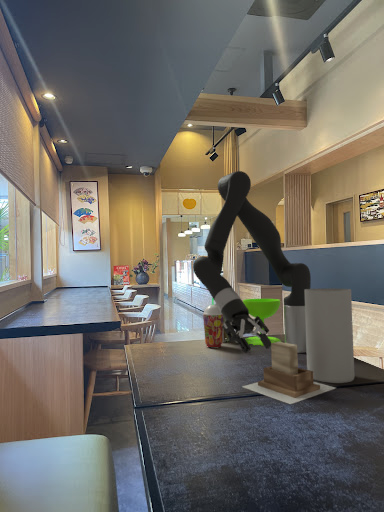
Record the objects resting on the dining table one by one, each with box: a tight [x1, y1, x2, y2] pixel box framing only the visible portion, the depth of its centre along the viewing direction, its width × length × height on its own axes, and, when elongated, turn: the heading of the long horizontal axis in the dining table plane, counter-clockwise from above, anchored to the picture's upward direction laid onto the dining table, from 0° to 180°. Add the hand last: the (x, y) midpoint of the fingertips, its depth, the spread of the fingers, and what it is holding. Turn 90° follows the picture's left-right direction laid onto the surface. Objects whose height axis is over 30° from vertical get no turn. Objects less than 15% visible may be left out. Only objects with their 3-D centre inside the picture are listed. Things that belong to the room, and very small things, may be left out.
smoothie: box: [202, 297, 223, 348], centre depth 147 cm, size 8×8×20 cm
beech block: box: [270, 341, 299, 375], centre depth 94 cm, size 3×6×10 cm, turn 35°
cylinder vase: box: [305, 287, 355, 384], centre depth 103 cm, size 12×12×25 cm
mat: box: [241, 381, 336, 405], centre depth 94 cm, size 18×16×1 cm
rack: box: [257, 365, 320, 398], centre depth 94 cm, size 10×12×4 cm
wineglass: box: [242, 298, 282, 347], centre depth 155 cm, size 16×16×18 cm
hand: (259, 349), depth 102 cm, fingers open, 8 cm apart
